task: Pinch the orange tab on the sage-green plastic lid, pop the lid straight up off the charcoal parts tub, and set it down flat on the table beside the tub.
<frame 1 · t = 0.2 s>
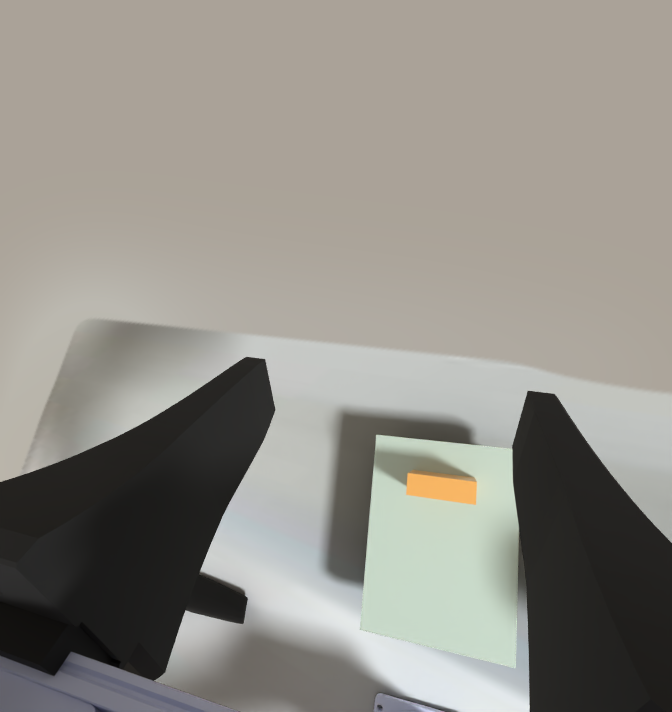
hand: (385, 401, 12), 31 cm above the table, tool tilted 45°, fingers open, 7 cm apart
lid: (440, 536, 35), point 4 cm above the table, touching tub
electric trimmer: (191, 585, 45), on the table
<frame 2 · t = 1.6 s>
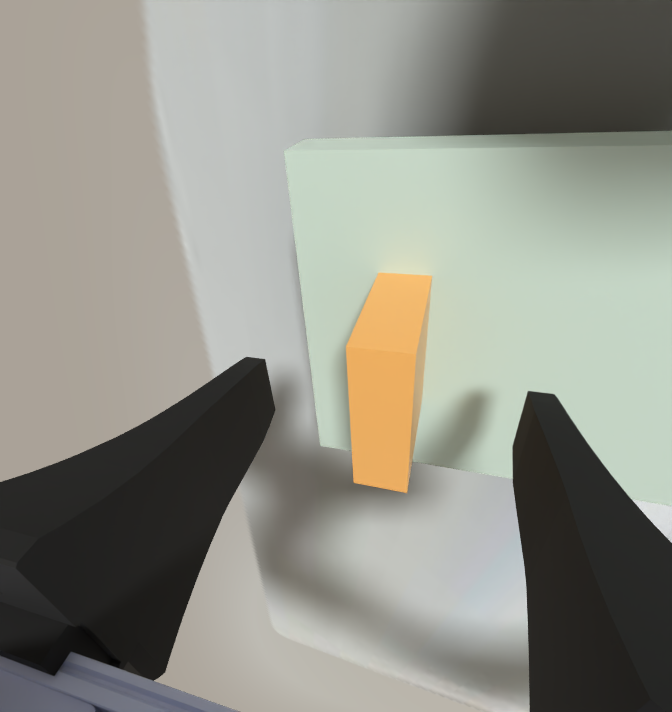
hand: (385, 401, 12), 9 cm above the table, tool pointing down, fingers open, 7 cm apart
lid: (542, 326, 14), point 4 cm above the table, touching tub
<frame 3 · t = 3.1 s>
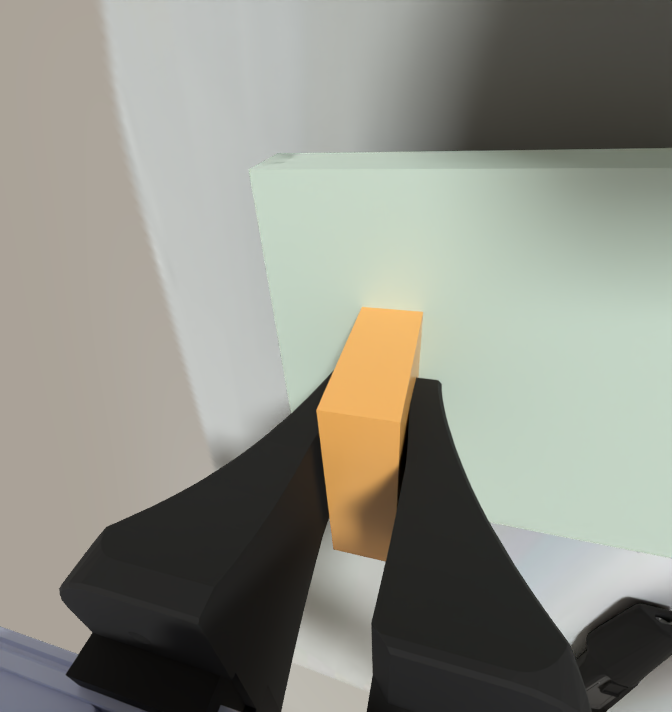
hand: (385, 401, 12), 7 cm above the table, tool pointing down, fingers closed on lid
lid: (548, 363, 13), point 4 cm above the table, touching gripper, tub
electric trimmer: (602, 636, 29), on the table
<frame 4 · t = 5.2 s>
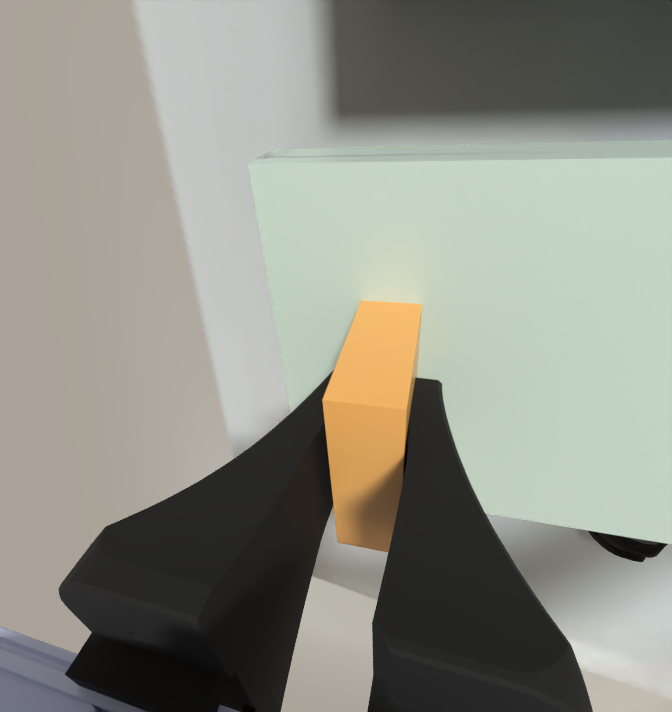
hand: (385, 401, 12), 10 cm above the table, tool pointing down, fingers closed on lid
lid: (543, 354, 13), point 7 cm above the table, touching gripper
electric trimmer: (667, 451, 23), on the table
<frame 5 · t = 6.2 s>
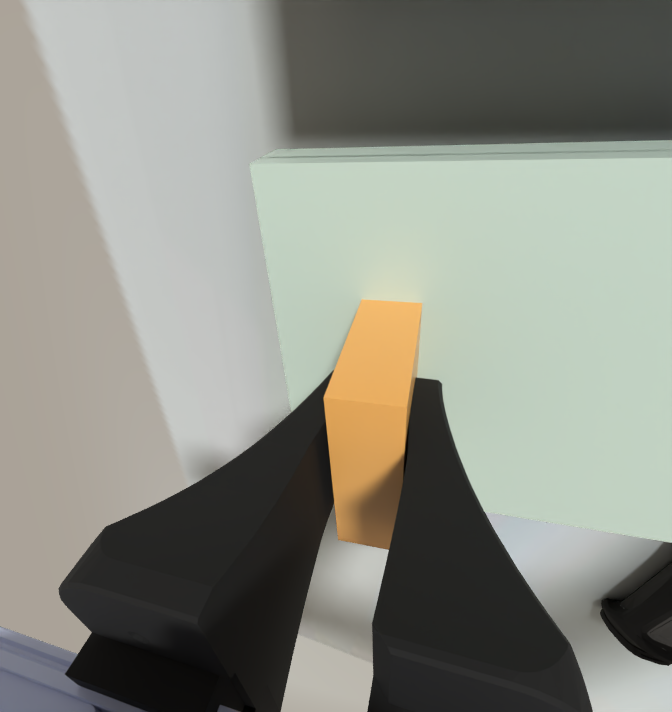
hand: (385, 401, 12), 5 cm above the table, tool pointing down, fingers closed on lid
lid: (543, 353, 13), point 2 cm above the table, touching gripper
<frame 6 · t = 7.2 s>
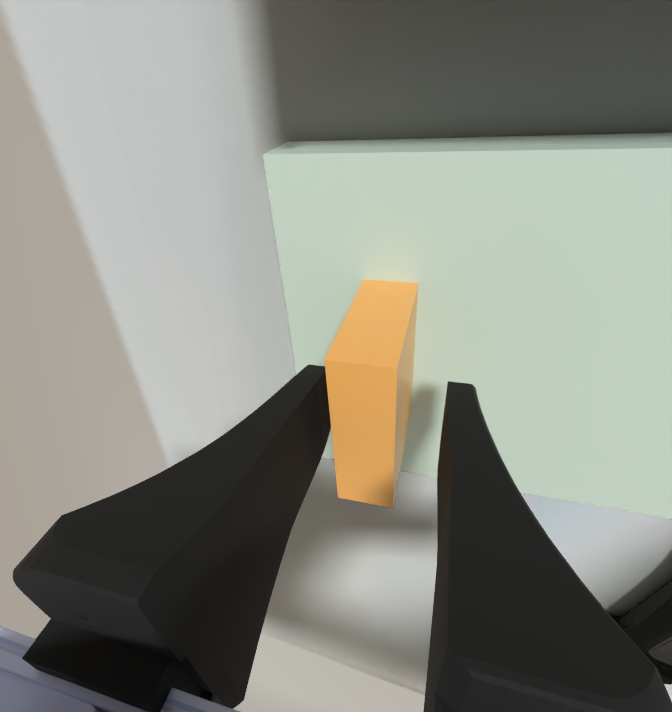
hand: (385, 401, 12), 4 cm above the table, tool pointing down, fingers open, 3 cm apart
lid: (533, 334, 14), on the table
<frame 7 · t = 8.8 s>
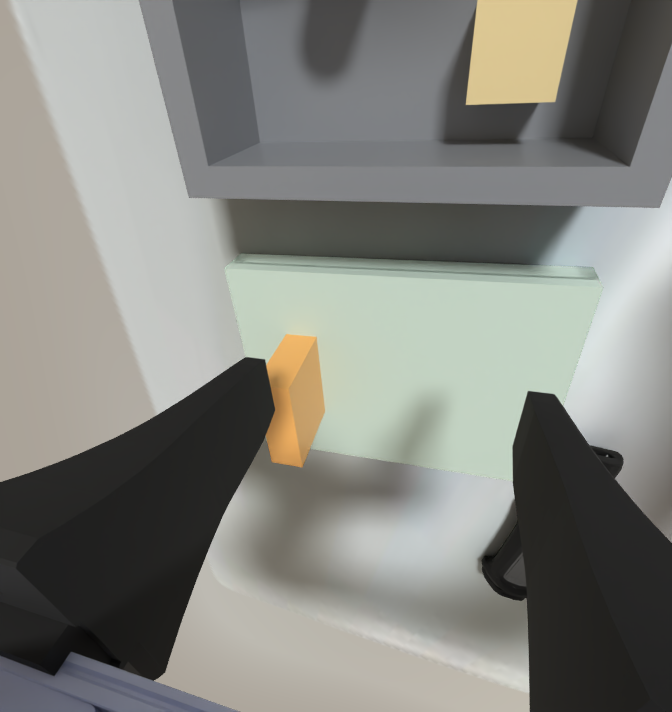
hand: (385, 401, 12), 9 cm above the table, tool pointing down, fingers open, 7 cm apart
lid: (396, 363, 22), on the table
electric trimmer: (536, 507, 27), on the table
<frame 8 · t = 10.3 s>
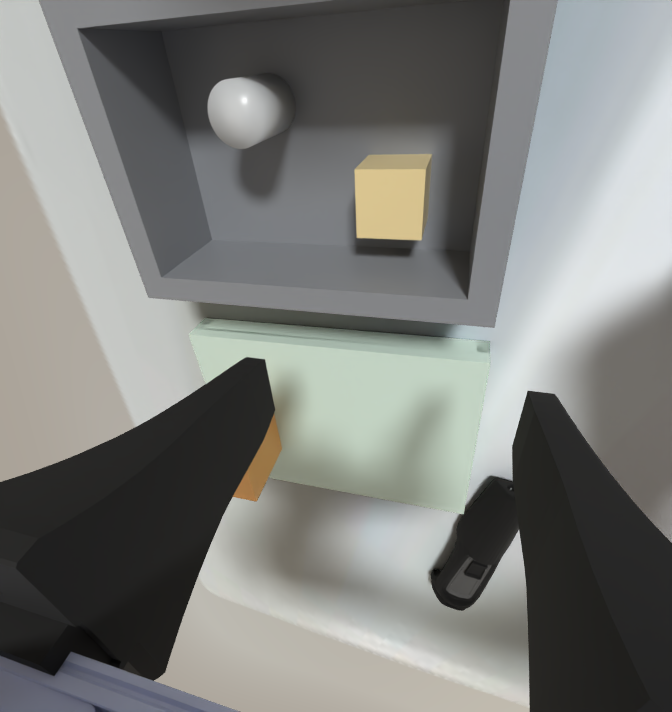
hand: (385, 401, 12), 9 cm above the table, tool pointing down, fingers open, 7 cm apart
lid: (341, 408, 26), on the table
tub: (329, 143, 17), on the table
electric trimmer: (475, 529, 30), on the table
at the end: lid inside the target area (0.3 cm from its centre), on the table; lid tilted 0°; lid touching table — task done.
